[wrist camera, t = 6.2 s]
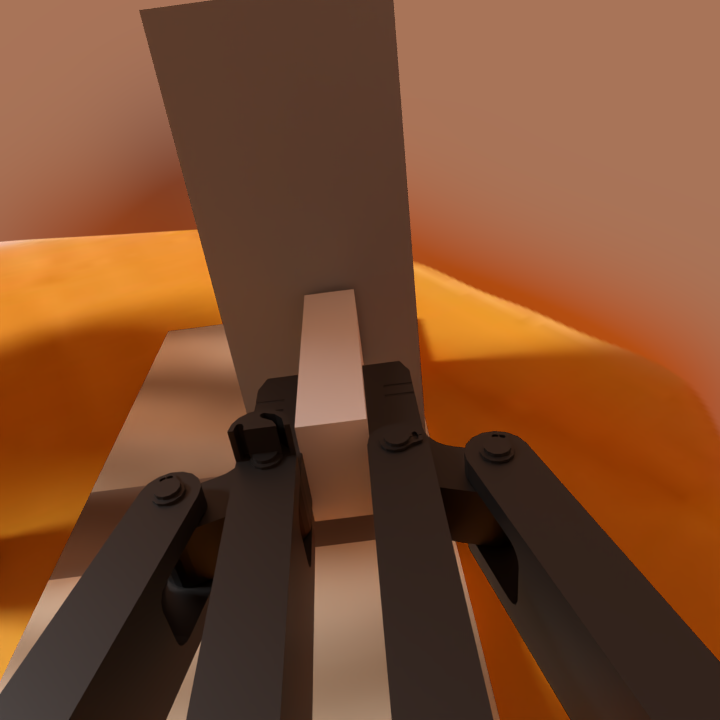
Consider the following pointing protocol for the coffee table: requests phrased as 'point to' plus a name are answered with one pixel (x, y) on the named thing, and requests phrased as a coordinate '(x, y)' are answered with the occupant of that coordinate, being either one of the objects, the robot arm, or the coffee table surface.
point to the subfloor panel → (207, 461)
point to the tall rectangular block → (293, 170)
